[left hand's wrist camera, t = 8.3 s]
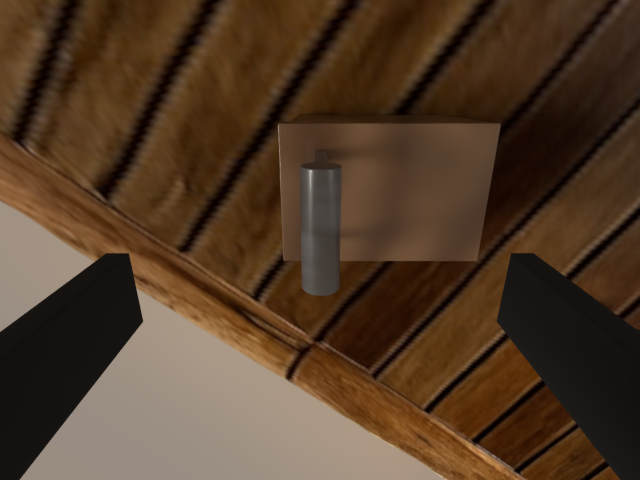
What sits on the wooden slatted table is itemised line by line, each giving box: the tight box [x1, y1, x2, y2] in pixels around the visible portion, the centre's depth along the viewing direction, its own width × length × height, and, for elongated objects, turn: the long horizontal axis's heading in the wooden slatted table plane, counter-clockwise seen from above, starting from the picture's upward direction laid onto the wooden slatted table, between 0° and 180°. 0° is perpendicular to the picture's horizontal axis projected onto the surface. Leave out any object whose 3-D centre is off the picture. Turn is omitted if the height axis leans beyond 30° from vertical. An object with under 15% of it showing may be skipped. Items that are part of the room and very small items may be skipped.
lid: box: [278, 122, 501, 296], centre depth 21 cm, size 14×9×8 cm
